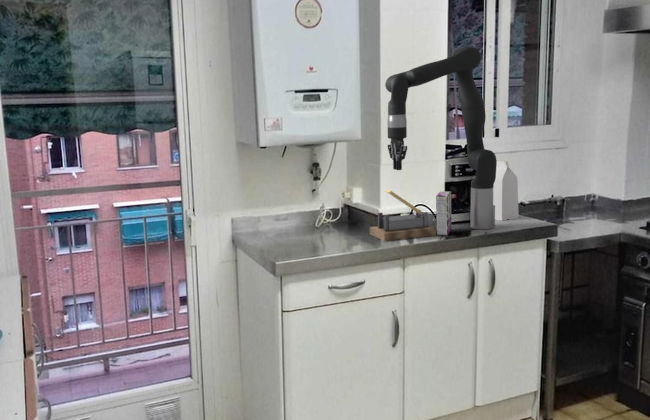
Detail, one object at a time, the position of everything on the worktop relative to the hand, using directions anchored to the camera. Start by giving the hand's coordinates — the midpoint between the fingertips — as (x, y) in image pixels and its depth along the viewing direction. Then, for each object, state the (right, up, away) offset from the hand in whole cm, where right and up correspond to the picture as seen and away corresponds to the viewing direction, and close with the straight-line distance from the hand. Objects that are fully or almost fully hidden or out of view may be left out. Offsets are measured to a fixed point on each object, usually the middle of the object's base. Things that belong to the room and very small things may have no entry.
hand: (397, 169), depth 243 cm
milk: (+51, -20, +35) cm, 65 cm away
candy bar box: (+20, -26, +7) cm, 33 cm away
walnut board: (+3, -26, +5) cm, 27 cm away
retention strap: (+4, -14, +4) cm, 15 cm away
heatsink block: (+3, -23, +5) cm, 24 cm away
